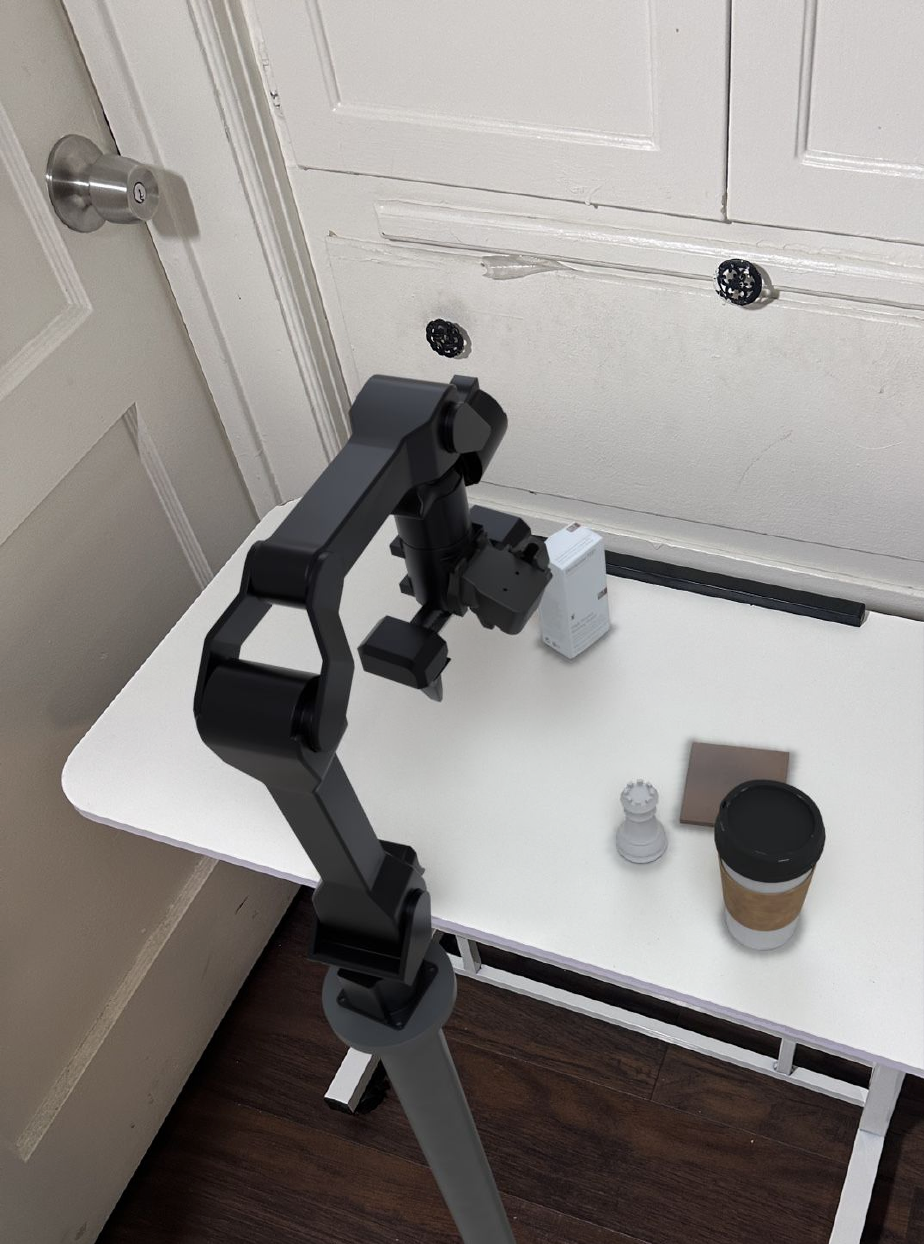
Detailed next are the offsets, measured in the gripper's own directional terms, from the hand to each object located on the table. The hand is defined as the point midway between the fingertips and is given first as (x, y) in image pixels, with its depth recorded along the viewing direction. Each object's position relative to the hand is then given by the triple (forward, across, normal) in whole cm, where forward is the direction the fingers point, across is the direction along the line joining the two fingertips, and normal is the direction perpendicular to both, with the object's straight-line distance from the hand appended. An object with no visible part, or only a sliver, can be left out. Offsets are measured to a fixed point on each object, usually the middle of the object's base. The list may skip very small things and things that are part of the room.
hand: (463, 662), depth 107 cm
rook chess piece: (+12, -4, -18) cm, 23 cm away
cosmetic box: (+12, +17, -2) cm, 21 cm away
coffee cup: (+12, -7, -31) cm, 34 cm away
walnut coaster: (+12, +5, -24) cm, 27 cm away
